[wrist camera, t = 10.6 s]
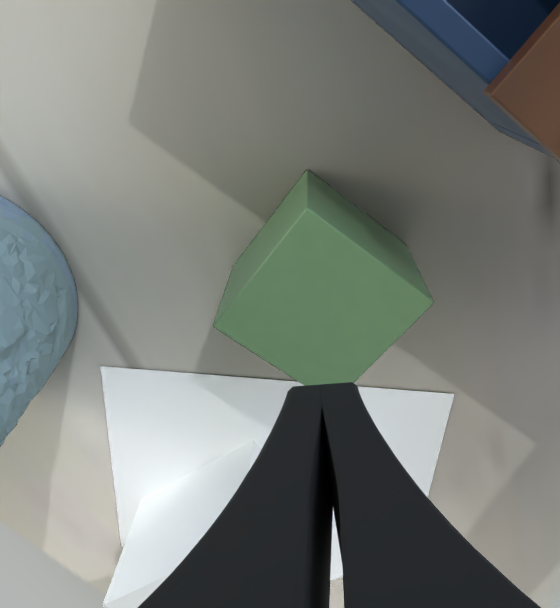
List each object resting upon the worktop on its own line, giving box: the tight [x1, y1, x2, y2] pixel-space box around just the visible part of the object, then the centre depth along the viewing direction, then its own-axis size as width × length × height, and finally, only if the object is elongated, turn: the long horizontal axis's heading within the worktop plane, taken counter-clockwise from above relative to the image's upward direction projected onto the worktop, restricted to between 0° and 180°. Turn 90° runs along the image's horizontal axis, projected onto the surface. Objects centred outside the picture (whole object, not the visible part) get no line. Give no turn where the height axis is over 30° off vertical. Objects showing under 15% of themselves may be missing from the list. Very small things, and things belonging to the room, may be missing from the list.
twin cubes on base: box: [100, 366, 454, 608], centre depth 22 cm, size 15×11×6 cm
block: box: [213, 170, 434, 386], centre depth 17 cm, size 5×5×5 cm
